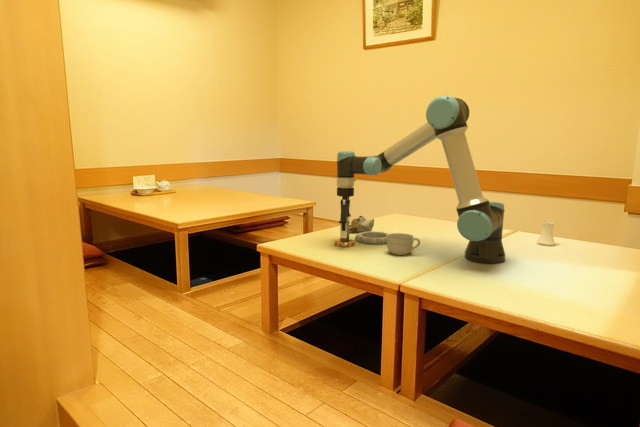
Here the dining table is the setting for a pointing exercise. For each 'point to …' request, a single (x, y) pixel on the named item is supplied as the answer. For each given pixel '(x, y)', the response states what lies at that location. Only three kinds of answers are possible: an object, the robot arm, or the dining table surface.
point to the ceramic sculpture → (361, 225)
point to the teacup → (401, 243)
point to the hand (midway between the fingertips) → (344, 234)
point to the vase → (546, 234)
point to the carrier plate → (372, 238)
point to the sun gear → (345, 239)
